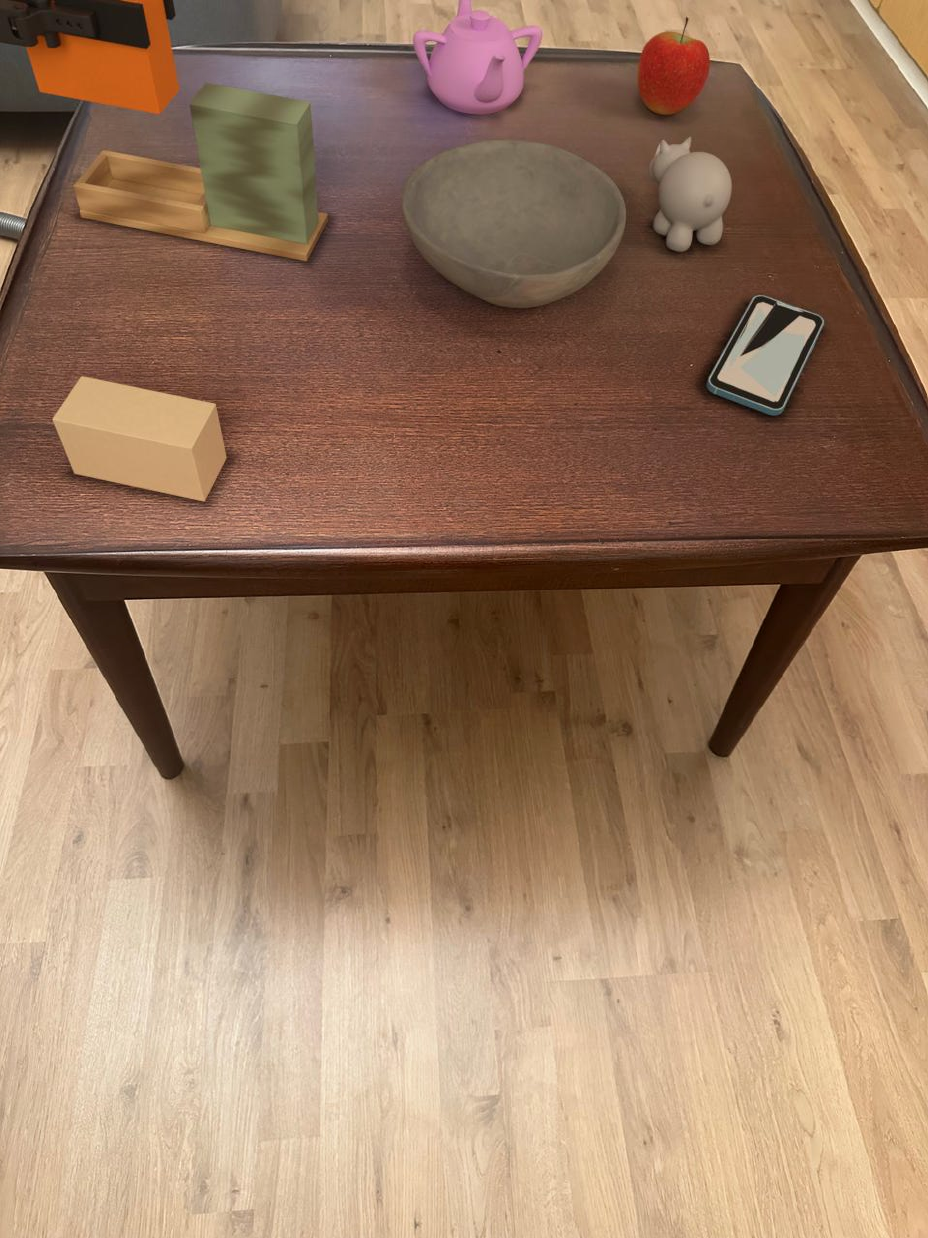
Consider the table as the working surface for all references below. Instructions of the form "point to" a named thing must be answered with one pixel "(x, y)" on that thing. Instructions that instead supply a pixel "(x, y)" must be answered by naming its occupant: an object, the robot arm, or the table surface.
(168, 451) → the pad riser
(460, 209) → the bowl
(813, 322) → the smartphone
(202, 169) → the pad holder
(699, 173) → the round bodied animal figurine
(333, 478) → the table surface
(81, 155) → the table surface
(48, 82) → the orange rectangular block
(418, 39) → the teapot
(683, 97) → the apple
